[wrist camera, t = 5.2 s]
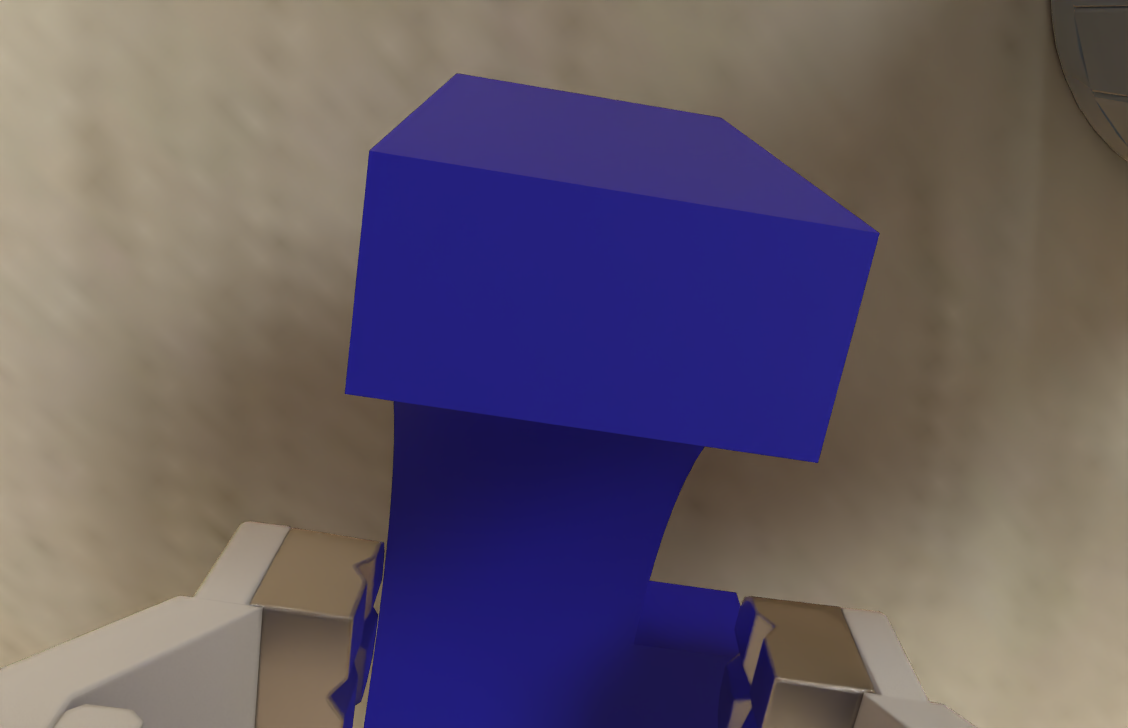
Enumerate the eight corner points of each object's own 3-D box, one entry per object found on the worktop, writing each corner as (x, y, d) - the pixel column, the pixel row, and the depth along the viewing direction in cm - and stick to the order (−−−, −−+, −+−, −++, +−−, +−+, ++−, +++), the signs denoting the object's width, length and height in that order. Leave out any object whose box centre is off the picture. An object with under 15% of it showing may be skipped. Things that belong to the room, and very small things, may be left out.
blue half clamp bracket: (650, 933, 16) (706, 1455, 10) (353, 899, 16) (241, 1417, 10) (850, 139, 12) (1121, 273, 6) (456, 73, 12) (368, 151, 6)
